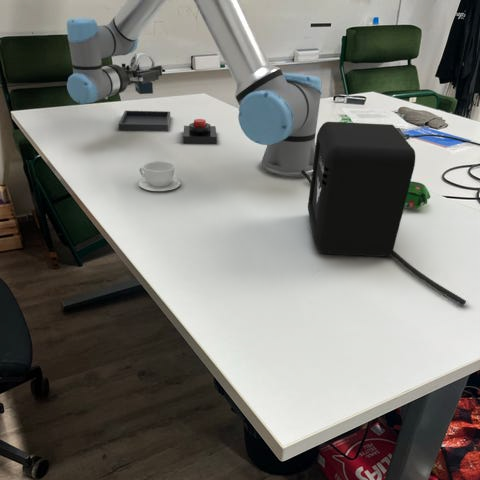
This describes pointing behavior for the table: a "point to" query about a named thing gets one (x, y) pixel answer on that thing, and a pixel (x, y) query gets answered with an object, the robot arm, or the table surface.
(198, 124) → the button
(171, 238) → the table surface
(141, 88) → the watch
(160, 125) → the tray
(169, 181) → the teacup
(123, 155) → the table surface
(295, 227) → the table surface
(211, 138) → the control block
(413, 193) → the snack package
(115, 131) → the table surface
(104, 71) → the robot arm
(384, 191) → the air purifier
